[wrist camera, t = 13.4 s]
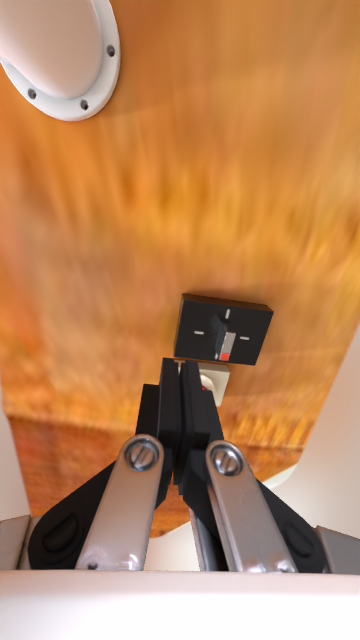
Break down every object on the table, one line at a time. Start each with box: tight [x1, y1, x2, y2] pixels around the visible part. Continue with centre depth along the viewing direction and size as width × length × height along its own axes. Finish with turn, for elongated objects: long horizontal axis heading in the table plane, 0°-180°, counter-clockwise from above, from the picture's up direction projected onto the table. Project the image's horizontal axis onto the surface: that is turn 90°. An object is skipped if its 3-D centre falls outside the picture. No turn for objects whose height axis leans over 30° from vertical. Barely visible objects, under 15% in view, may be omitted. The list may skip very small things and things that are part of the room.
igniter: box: [174, 360, 230, 406], centre depth 40 cm, size 11×8×4 cm
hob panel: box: [173, 294, 274, 365], centre depth 36 cm, size 14×10×3 cm
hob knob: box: [215, 322, 236, 361], centre depth 33 cm, size 5×1×4 cm, turn 171°
